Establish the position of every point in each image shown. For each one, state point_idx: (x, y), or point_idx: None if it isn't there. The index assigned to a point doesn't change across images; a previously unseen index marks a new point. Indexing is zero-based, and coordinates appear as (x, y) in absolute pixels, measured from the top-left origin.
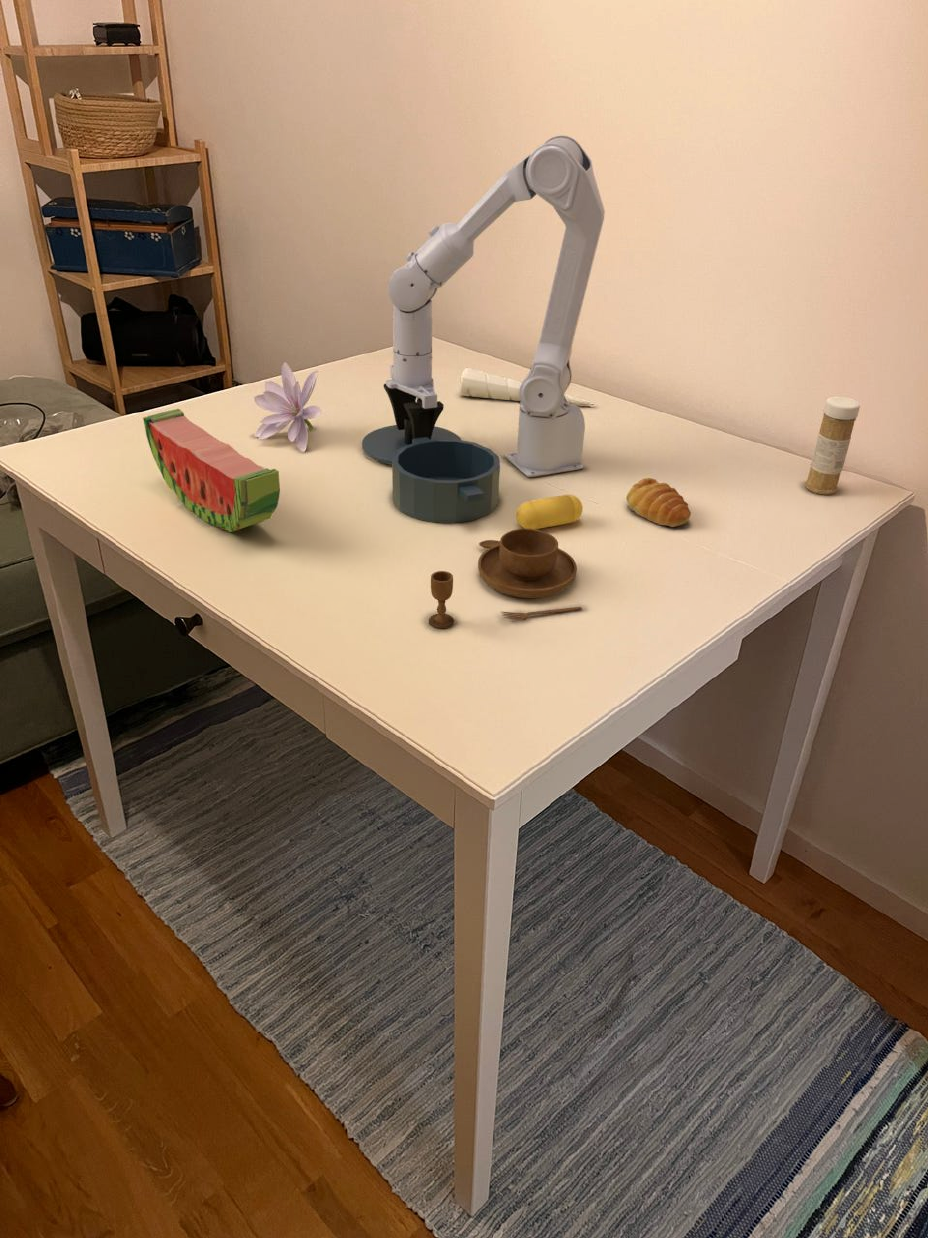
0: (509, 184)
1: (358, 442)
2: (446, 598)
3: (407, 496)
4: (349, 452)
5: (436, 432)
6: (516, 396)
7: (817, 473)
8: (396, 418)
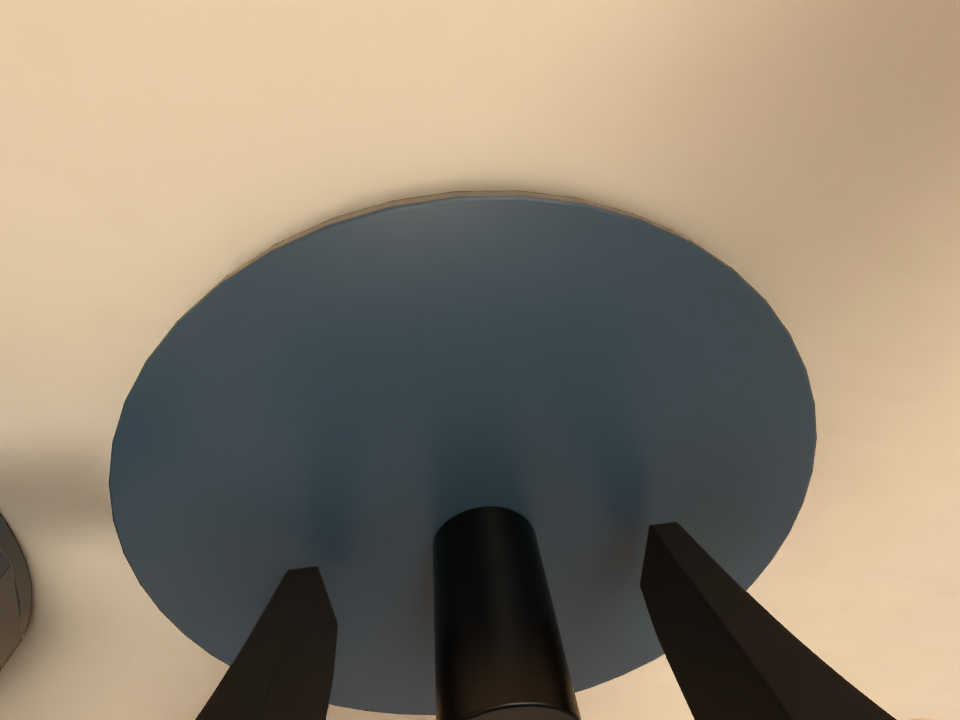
0: None
1: (746, 203)
2: None
3: None
4: (581, 57)
5: (583, 649)
6: None
7: None
8: (700, 596)
